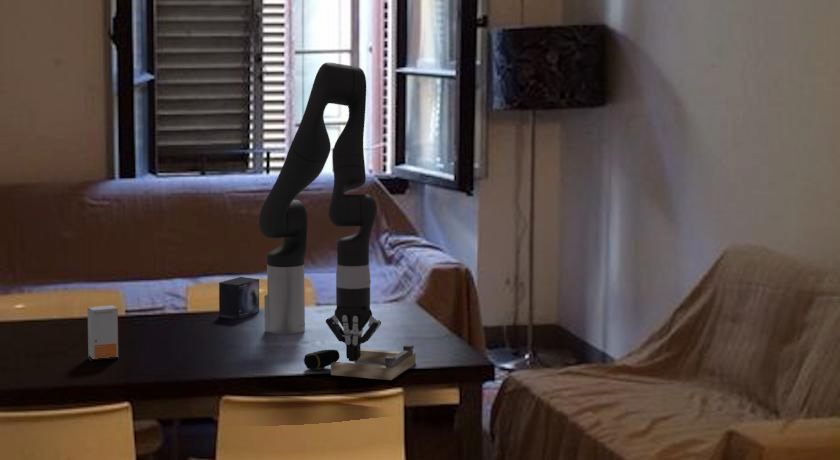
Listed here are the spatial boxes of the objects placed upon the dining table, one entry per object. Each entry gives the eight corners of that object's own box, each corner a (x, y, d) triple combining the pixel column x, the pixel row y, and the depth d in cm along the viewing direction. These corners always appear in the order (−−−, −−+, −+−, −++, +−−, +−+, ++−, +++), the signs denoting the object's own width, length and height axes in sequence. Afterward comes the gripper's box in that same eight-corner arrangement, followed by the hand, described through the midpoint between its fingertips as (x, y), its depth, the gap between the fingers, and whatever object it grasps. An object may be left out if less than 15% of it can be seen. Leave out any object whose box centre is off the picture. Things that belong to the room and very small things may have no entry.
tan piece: (330, 374, 282) (330, 354, 282) (357, 358, 297) (357, 339, 297) (391, 380, 278) (391, 359, 277) (415, 363, 293) (415, 344, 292)
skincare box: (92, 362, 293) (91, 310, 292) (88, 358, 297) (86, 306, 296) (119, 359, 296) (117, 307, 295) (114, 355, 300) (113, 304, 298)
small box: (239, 324, 336) (238, 284, 334) (217, 321, 338) (217, 282, 337) (261, 316, 345) (260, 278, 344) (240, 314, 348) (239, 276, 346)
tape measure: (342, 362, 288) (339, 346, 288) (325, 370, 282) (321, 353, 282) (318, 366, 291) (314, 350, 291) (300, 373, 285) (296, 357, 285)
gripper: (318, 285, 285) (319, 362, 287) (375, 288, 281) (375, 366, 283) (332, 279, 292) (332, 355, 294) (387, 283, 288) (387, 359, 290)
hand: (353, 360), depth 289 cm, fingers closed
